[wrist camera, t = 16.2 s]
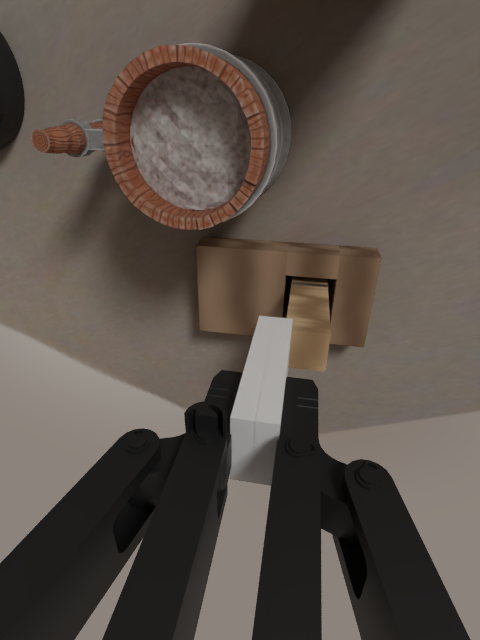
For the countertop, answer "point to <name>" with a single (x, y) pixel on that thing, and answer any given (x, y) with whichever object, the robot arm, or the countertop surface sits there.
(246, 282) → the board
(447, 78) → the countertop surface
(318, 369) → the peg
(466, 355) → the countertop surface
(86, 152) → the mug
